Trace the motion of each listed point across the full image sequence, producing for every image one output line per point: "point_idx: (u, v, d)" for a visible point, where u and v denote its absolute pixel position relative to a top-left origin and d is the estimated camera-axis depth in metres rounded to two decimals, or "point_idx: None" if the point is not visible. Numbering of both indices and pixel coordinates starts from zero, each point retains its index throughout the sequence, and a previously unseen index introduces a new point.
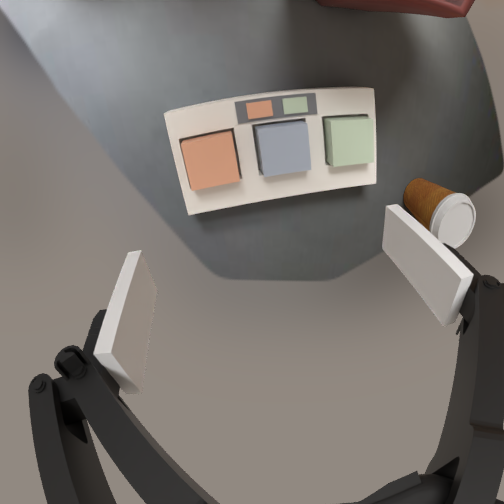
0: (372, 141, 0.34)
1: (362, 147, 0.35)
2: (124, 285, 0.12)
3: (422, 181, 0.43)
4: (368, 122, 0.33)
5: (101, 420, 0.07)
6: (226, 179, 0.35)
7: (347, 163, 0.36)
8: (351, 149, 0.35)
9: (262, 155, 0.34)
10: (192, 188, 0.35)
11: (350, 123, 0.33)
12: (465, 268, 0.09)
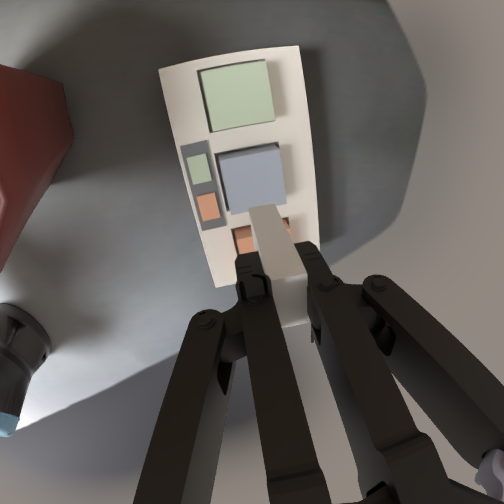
0: (234, 67, 0.23)
1: (245, 82, 0.24)
2: (264, 230, 0.14)
3: None
4: (207, 78, 0.23)
5: (260, 351, 0.08)
6: None
7: (269, 100, 0.25)
8: (249, 97, 0.25)
9: None
10: None
11: (212, 104, 0.24)
12: (301, 266, 0.11)
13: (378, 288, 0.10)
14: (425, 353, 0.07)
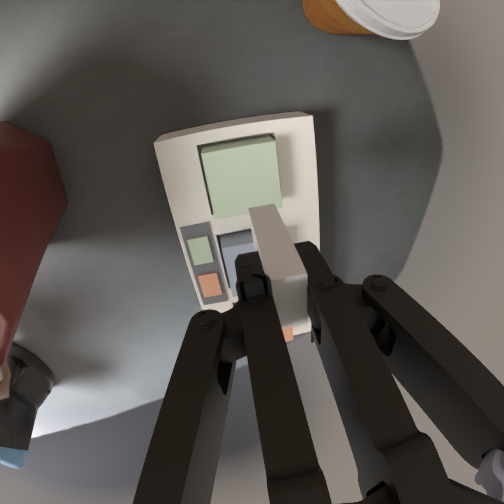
0: (239, 149, 0.23)
1: (251, 166, 0.24)
2: (264, 230, 0.14)
3: (307, 7, 0.20)
4: (208, 161, 0.23)
5: (260, 351, 0.08)
6: None
7: (277, 186, 0.25)
8: (255, 184, 0.24)
9: None
10: (291, 339, 0.36)
11: (214, 190, 0.24)
12: (301, 266, 0.11)
13: (378, 288, 0.10)
14: (425, 353, 0.07)
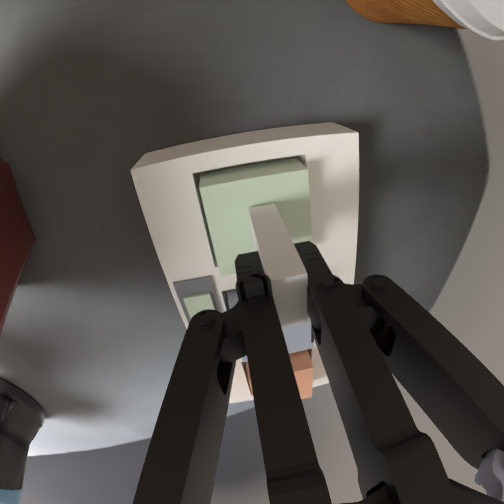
0: (256, 181, 0.16)
1: None
2: (264, 230, 0.14)
3: None
4: (210, 199, 0.16)
5: (260, 351, 0.08)
6: (307, 377, 0.26)
7: (307, 232, 0.18)
8: None
9: None
10: (309, 396, 0.28)
11: (218, 239, 0.17)
12: (301, 266, 0.11)
13: (378, 288, 0.10)
14: (425, 353, 0.07)
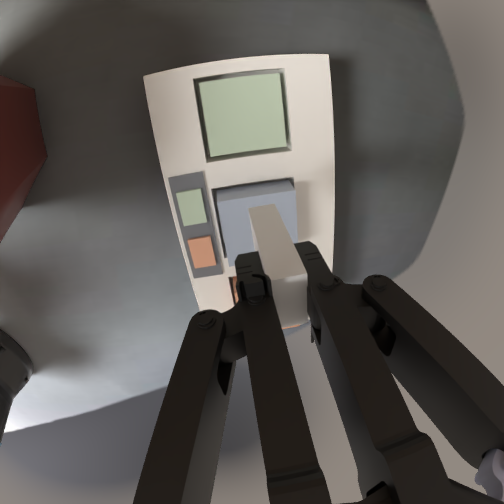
0: (240, 79, 0.19)
1: (253, 97, 0.20)
2: (264, 230, 0.14)
3: None
4: (206, 91, 0.19)
5: (260, 351, 0.08)
6: None
7: (281, 122, 0.21)
8: (256, 117, 0.21)
9: None
10: (296, 325, 0.30)
11: (211, 123, 0.21)
12: (301, 266, 0.11)
13: (378, 288, 0.10)
14: (425, 353, 0.07)
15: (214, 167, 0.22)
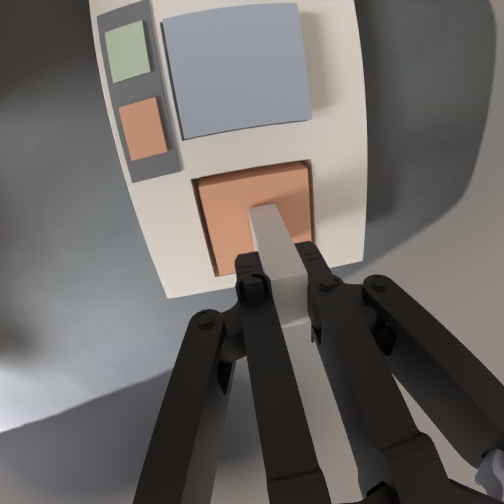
0: None
1: None
2: (264, 230, 0.14)
3: None
4: None
5: (260, 351, 0.08)
6: (299, 196, 0.17)
7: None
8: None
9: (254, 123, 0.13)
10: None
11: None
12: (301, 266, 0.11)
13: (378, 288, 0.10)
14: (425, 353, 0.07)
15: None
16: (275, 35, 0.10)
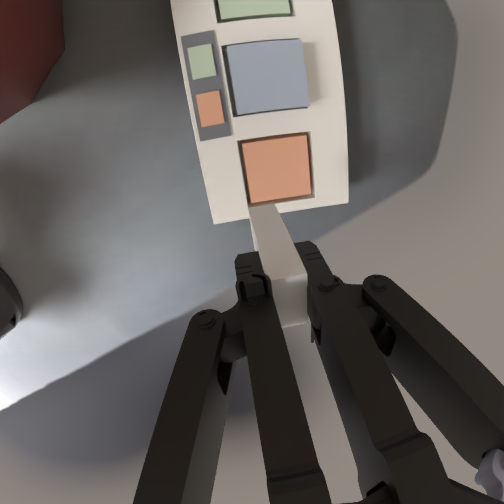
0: None
1: None
2: (264, 230, 0.14)
3: None
4: None
5: (260, 351, 0.08)
6: (302, 152, 0.26)
7: None
8: None
9: (277, 107, 0.22)
10: (307, 192, 0.29)
11: None
12: (301, 266, 0.11)
13: (378, 288, 0.10)
14: (425, 353, 0.07)
15: (224, 27, 0.19)
16: (289, 58, 0.20)
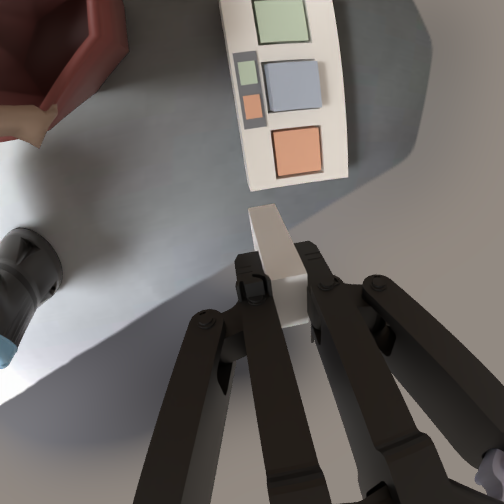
0: (279, 1, 0.26)
1: (287, 11, 0.26)
2: (264, 230, 0.14)
3: None
4: (259, 6, 0.26)
5: (260, 351, 0.08)
6: (315, 139, 0.36)
7: (304, 26, 0.28)
8: (289, 22, 0.27)
9: (300, 107, 0.32)
10: (319, 169, 0.39)
11: (261, 23, 0.27)
12: (301, 266, 0.11)
13: (378, 288, 0.10)
14: (425, 353, 0.07)
15: (263, 48, 0.29)
16: (309, 74, 0.30)
